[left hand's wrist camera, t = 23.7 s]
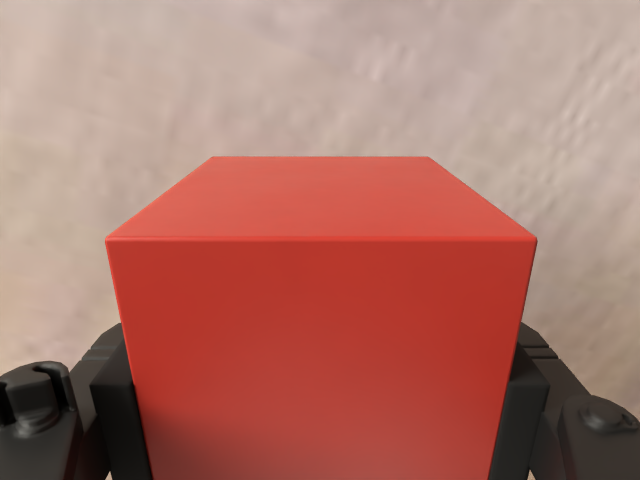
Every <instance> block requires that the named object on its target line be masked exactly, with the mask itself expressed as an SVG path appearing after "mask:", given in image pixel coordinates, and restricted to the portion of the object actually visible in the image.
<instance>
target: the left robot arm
mask: <svg viewBox="0 0 640 480" xmlns="http://www.w3.org/2000/svg"><path fill="white" fill-rule="evenodd" d="M530 470H531V472H532V474H533V476H534V477H535V479H536V480H640V422H639V421H638V420H637V418H636V417H634V416H633V415H632V414H631V413H630V412H628V411H627V410H626V409H625V408H623V407H621V406H619V405H617V404H615V403H613V402H612V401H610V400H606V399H603V398H600V397H597V396H593V395H591V394H590V393H589V392H588V391H587V390H586V389H585V387H584V386H583V385H582V384H581V383H580V382H579V380H578V379H577V378H576V377H575V376H574V374H573V373H572V372H571V371H570V370H569V369H568V367H567V366H566V365H565V364H564V363H563V361H562V360H561V359H558V356H557V354H556V353H555V352H554V351H553V350H552V349H551V348H549V345H548V344H547V343H546V341H545V340H544V339H543V338H542V337H541V336H540V334H539V333H538V332H536V331H535V330H533V329H532V328H530V327H528V326H527V325H525V324H524V323H522V322H521V325H520V330H519V335H518V339H517V344H516V349H515V354H514V359H513V364H512V369H511V374H510V379H509V382H508V386H507V391H506V396H505V401H504V406H503V410H502V415H501V420H500V425H499V430H498V435H497V440H496V445H495V450H494V455H493V460H492V465H491V470H490V474H489V479H488V480H527V479H528V475H529V471H530ZM109 472H111V476H112V480H153V478H152V473H151V468H150V463H149V458H148V453H147V448H146V443H145V438H144V433H143V428H142V423H141V418H140V413H139V409H138V404H137V399H136V394H135V389H134V384H133V379H132V374H131V369H130V364H129V359H128V354H127V349H126V344H125V339H124V334H123V329H122V324H121V323H118V324H117V325H115V326H114V327H112V328H111V329H109V330H108V331H106V332H104V333H103V334H102V335H101V336H100V337H99V338H98V339H97V341H96V342H95V343H94V344H93V345H92V346H91V350H88V351H87V352H86V354H85V355H84V356H83V357H82V360H81V361H79V362H78V363H77V364H76V365H75V367H74V368H73V369H72V370H71V371H70V373H69V371H68V368H67V367H66V366H65V365H63V364H62V363H60V362H54V361H43V362H34V363H31V364H27V365H24V366H20V367H18V368H16V369H14V370H11V371H9V372H7V373H5V374H3V375H2V376H0V480H105V479H106V477H107V475H108V473H109Z"/></svg>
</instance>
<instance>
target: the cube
mask: <svg viewBox="0 0 640 480" xmlns="http://www.w3.org/2000/svg"><path fill="white" fill-rule="evenodd" d="M105 244H106V249H107V254H108V259H109V264H110V269H111V274H112V279H113V284H114V289H115V294H116V299H117V304H118V309H119V314H120V319H121V324H122V329H123V334H124V339H125V344H126V349H127V354H128V359H129V364H130V369H131V374H132V379H133V384H134V389H135V394H136V399H137V404H138V409H139V413H140V418H141V423H142V428H143V433H144V438H145V443H146V448H147V453H148V458H149V463H150V468H151V473H152V478H153V480H488V479H489V474H490V470H491V465H492V460H493V455H494V450H495V445H496V440H497V435H498V430H499V425H500V420H501V415H502V410H503V406H504V401H505V396H506V391H507V386H508V382H509V379H510V374H511V369H512V364H513V359H514V354H515V349H516V344H517V339H518V335H519V330H520V325H521V320H522V315H523V310H524V305H525V300H526V295H527V290H528V286H529V281H530V276H531V271H532V266H533V261H534V256H535V251H536V246H537V238H536V237H535V236H534V235H533V234H531V233H530V232H529V231H527V230H526V229H525V228H523V227H522V226H521V225H519V224H518V223H517V222H515V221H514V220H513V219H511V218H510V217H509V216H507V215H506V214H505V213H503V212H502V211H501V210H499V209H498V208H497V207H495V206H494V205H493V204H491V203H490V202H489V201H487V200H486V199H484V198H483V197H482V196H480V195H479V194H478V193H476V192H475V191H474V190H472V189H471V188H470V187H468V186H467V185H466V184H464V183H463V182H462V181H460V180H459V179H458V178H456V177H455V176H454V175H452V174H451V173H450V172H448V171H447V170H446V169H444V168H443V167H442V166H440V165H439V164H438V163H436V162H435V161H434V160H432V159H431V158H430V157H211V158H210V159H209V160H207V161H206V162H205V163H203V164H202V165H201V166H199V167H198V168H197V169H195V170H194V171H193V172H191V173H190V174H189V175H188V176H186V177H185V178H184V179H182V180H181V181H180V182H178V183H177V184H176V185H174V186H173V187H172V188H170V189H169V190H168V191H166V192H165V193H164V194H162V195H161V196H160V197H158V198H157V199H156V200H154V201H153V202H152V203H151V204H149V205H148V206H147V207H145V208H144V209H143V210H141V211H140V212H139V213H137V214H136V215H135V216H133V217H132V218H131V219H129V220H128V221H127V222H125V223H124V224H123V225H121V226H120V227H119V228H118V229H116V230H115V231H114V232H112V233H111V234H110V235H108V236H107V237H106V239H105Z"/></svg>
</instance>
